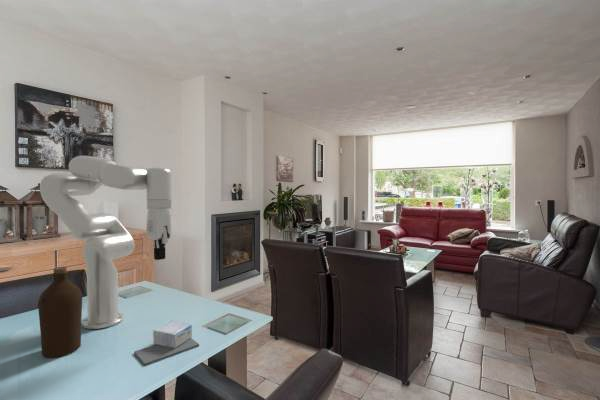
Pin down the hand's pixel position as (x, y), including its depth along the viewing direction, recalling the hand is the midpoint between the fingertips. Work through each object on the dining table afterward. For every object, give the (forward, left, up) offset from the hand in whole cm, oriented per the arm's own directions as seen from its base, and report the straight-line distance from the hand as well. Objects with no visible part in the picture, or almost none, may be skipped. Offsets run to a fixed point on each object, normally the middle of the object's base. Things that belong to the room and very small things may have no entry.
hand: (159, 259), depth 108 cm
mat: (+14, -3, -25) cm, 29 cm away
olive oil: (-8, -26, -25) cm, 37 cm away
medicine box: (+6, -2, -22) cm, 23 cm away
